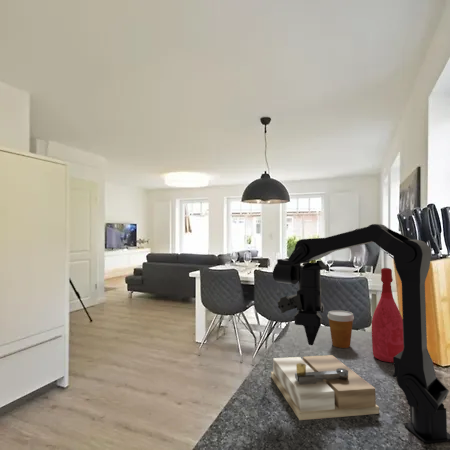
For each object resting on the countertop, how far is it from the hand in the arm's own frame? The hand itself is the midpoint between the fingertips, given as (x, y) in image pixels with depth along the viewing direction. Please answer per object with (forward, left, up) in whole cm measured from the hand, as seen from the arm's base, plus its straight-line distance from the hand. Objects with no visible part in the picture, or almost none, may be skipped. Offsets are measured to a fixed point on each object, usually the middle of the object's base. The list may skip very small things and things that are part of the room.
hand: (310, 344), depth 88 cm
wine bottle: (+18, -34, -12) cm, 41 cm away
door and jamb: (-2, -1, -12) cm, 12 cm away
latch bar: (-7, 0, -6) cm, 9 cm away
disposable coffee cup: (+33, -25, -12) cm, 43 cm away
